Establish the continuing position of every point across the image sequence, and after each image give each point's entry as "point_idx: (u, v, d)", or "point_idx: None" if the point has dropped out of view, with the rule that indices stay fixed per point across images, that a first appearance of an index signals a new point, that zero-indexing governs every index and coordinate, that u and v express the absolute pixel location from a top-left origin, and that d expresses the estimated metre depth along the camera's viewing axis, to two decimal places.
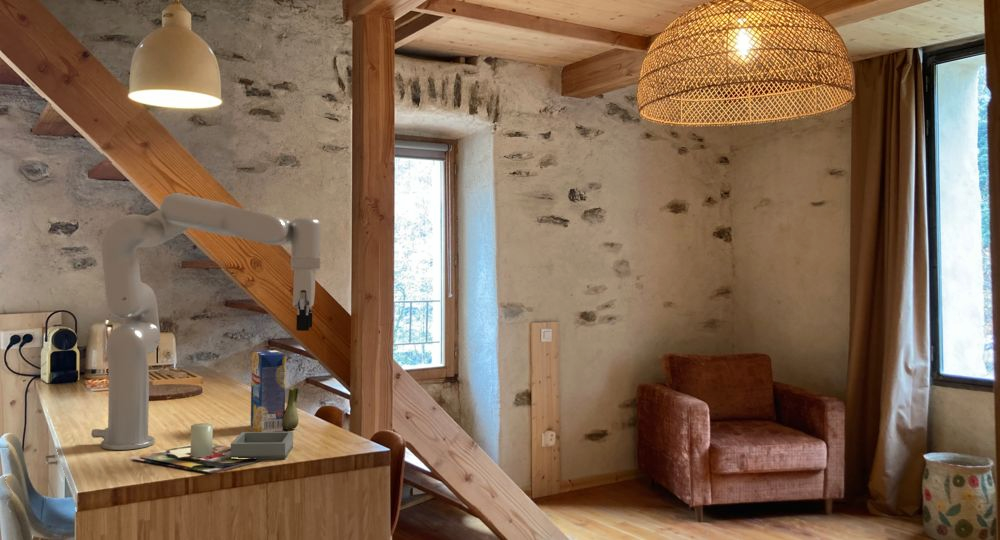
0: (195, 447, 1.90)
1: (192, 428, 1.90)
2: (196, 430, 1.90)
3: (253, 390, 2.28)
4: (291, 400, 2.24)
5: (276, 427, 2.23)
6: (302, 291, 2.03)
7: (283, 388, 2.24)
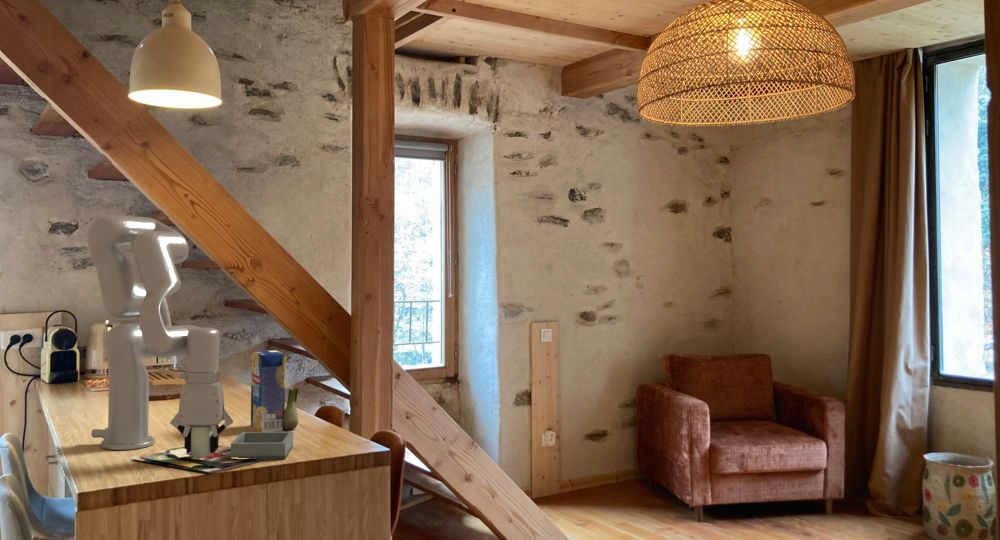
0: (195, 447, 1.90)
1: (192, 428, 1.90)
2: (196, 430, 1.90)
3: (253, 390, 2.28)
4: (291, 400, 2.24)
5: (275, 427, 2.23)
6: None
7: (283, 388, 2.24)
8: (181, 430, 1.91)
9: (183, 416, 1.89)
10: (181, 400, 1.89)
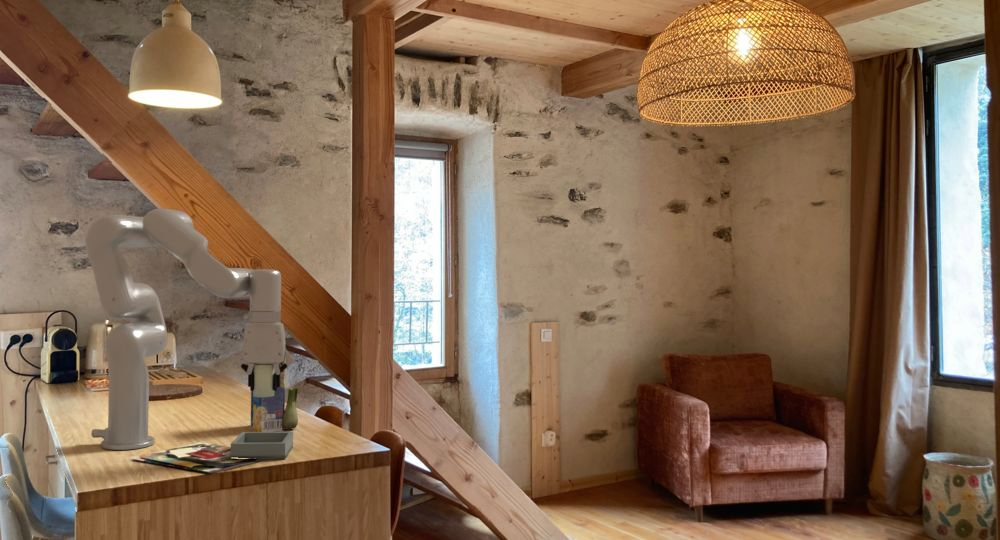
0: (259, 384, 1.95)
1: (256, 366, 1.96)
2: (259, 367, 1.95)
3: (253, 390, 2.28)
4: (290, 400, 2.24)
5: (275, 427, 2.23)
6: None
7: (283, 388, 2.24)
8: (245, 368, 1.96)
9: (247, 354, 1.95)
10: (245, 339, 1.95)
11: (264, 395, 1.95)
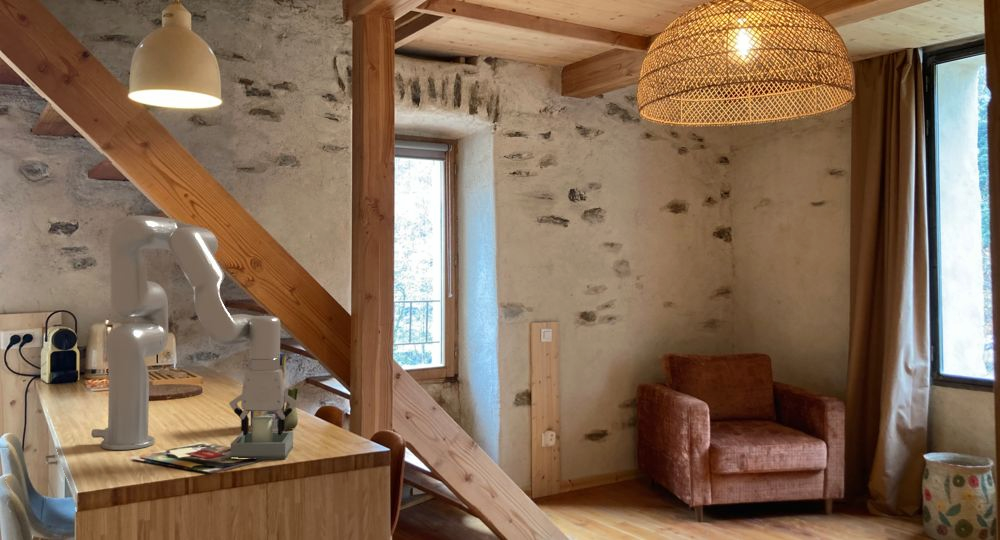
0: (257, 439, 1.95)
1: (254, 420, 1.96)
2: (257, 422, 1.95)
3: None
4: None
5: (275, 427, 2.23)
6: (283, 393, 1.98)
7: None
8: (238, 413, 1.96)
9: (246, 402, 1.95)
10: (244, 386, 1.95)
11: None
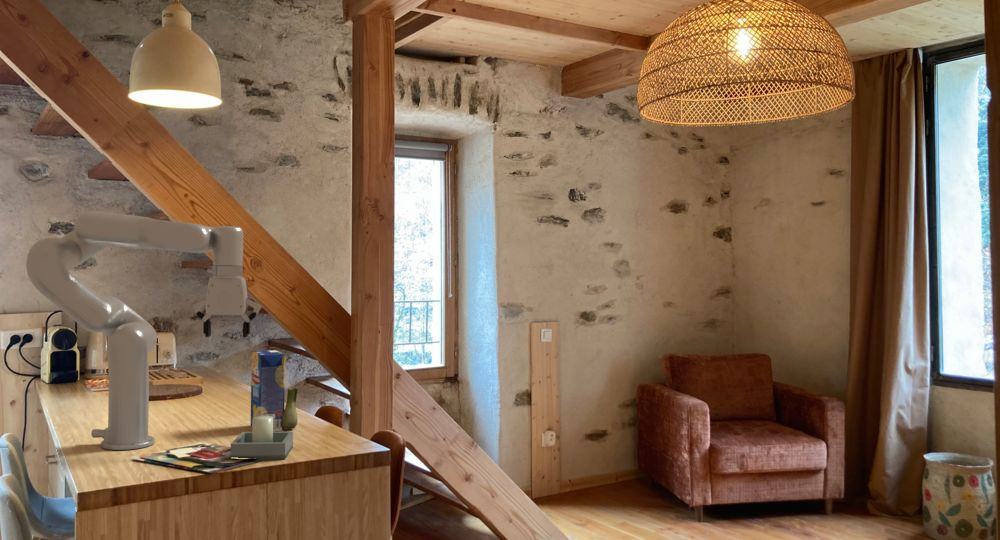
0: (258, 439, 1.95)
1: (254, 420, 1.96)
2: (258, 422, 1.95)
3: (253, 390, 2.28)
4: (290, 400, 2.24)
5: (275, 427, 2.23)
6: (246, 298, 2.08)
7: (283, 388, 2.24)
8: (200, 316, 2.07)
9: (210, 306, 2.05)
10: (208, 291, 2.05)
11: None
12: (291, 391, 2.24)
